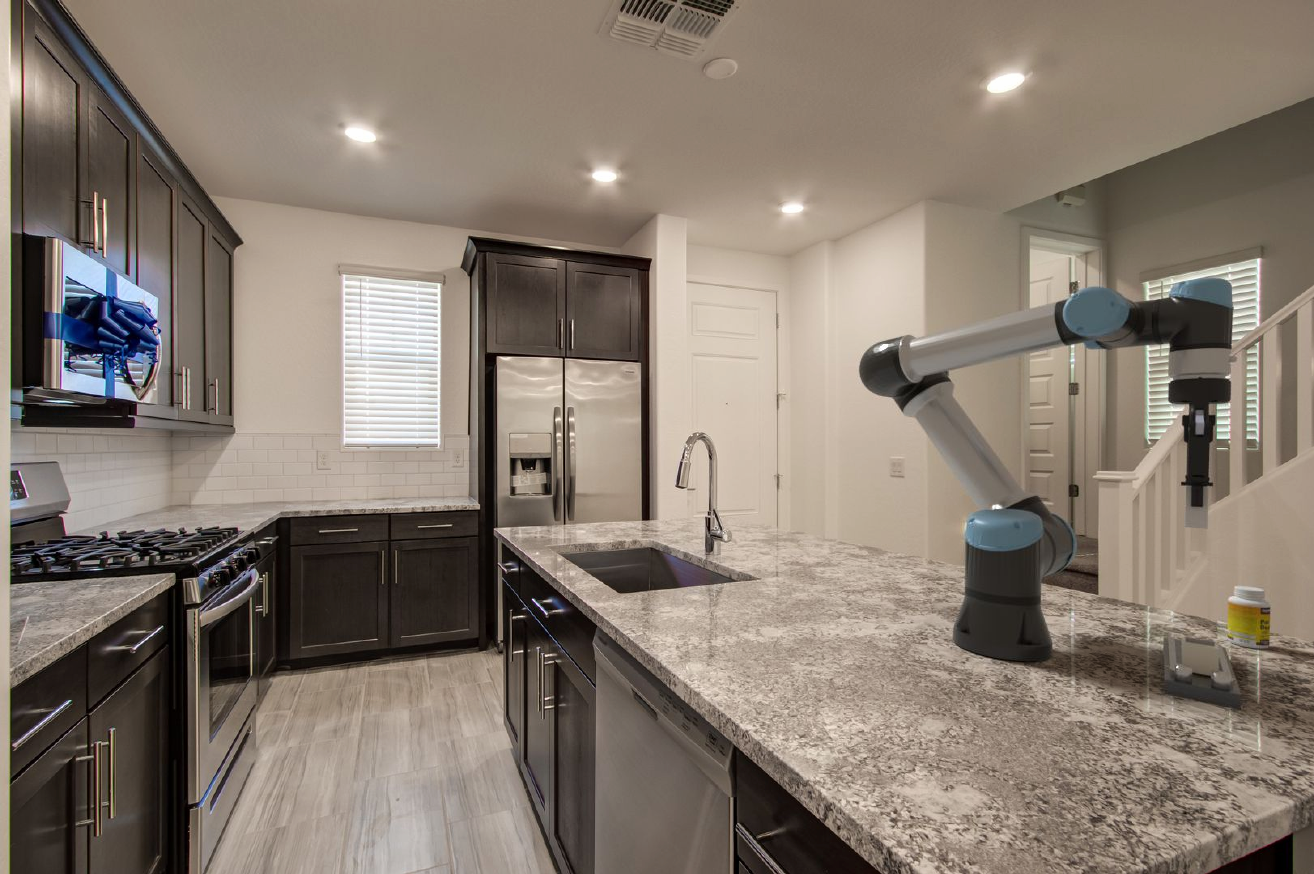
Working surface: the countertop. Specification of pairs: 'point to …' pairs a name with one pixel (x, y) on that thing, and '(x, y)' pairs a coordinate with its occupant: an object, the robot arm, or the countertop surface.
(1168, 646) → the console
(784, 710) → the countertop surface
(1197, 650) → the fader tab
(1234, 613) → the supplement bottle
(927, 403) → the robot arm
